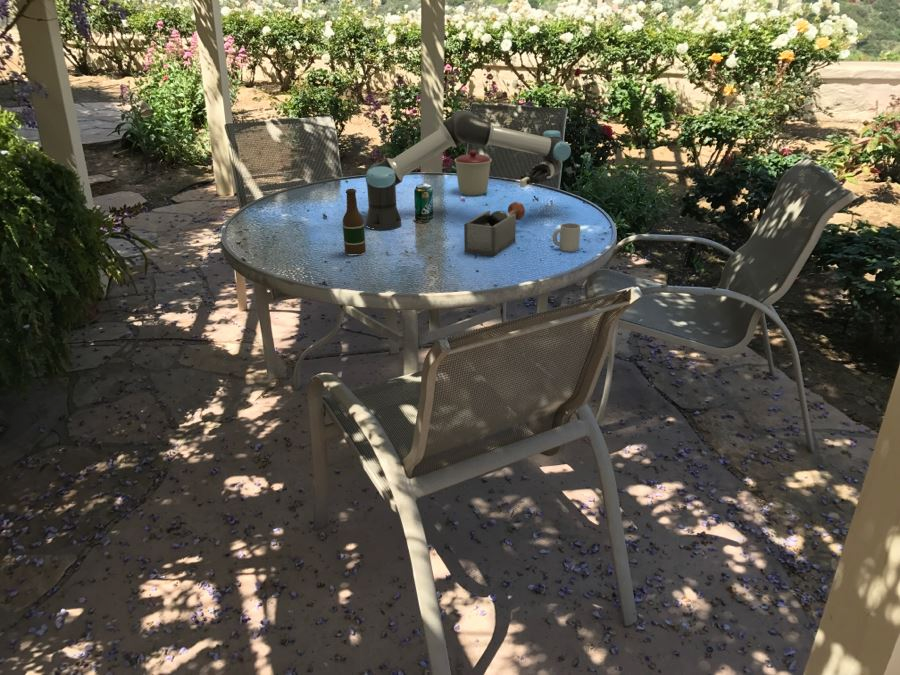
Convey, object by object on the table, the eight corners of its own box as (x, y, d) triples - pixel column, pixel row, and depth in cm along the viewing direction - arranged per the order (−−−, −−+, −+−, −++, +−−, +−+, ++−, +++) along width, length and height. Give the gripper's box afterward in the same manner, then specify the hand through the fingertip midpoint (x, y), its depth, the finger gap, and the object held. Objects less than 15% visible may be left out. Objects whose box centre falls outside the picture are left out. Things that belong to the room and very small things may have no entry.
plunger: (507, 219, 287) (508, 199, 284) (525, 221, 284) (526, 201, 280) (488, 230, 273) (489, 210, 269) (507, 233, 269) (508, 212, 266)
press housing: (487, 238, 278) (487, 210, 273) (515, 241, 272) (516, 214, 268) (464, 252, 262) (464, 223, 257) (493, 256, 256) (494, 227, 252)
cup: (580, 251, 260) (581, 228, 256) (553, 252, 260) (554, 228, 257) (577, 245, 267) (578, 223, 263) (551, 246, 267) (552, 223, 263)
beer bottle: (355, 248, 268) (351, 186, 258) (370, 252, 264) (366, 188, 254) (340, 253, 263) (335, 190, 253) (355, 257, 258) (350, 193, 248)
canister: (447, 195, 342) (446, 151, 333) (467, 187, 356) (467, 145, 347) (479, 199, 333) (479, 154, 324) (498, 191, 346) (498, 148, 337)
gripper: (556, 182, 300) (536, 194, 281) (528, 179, 306) (506, 191, 287) (557, 164, 297) (537, 175, 278) (528, 162, 302) (506, 173, 284)
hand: (521, 183), depth 283 cm, fingers closed
